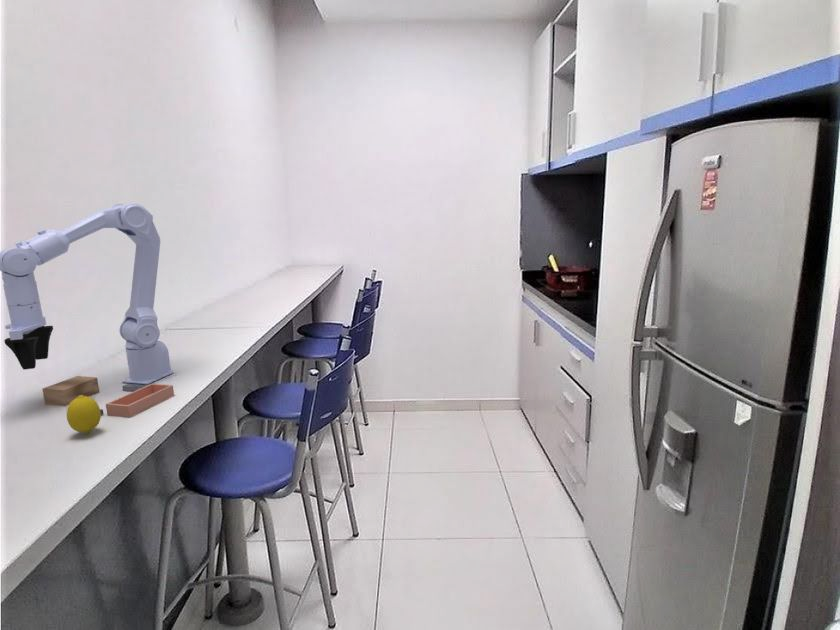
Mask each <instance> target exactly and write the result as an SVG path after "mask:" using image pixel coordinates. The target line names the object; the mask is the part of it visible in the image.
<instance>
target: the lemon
mask: <svg viewBox="0 0 840 630" xmlns="http://www.w3.org/2000/svg"><path fill="white" fill-rule="evenodd" d="M66 409H67V410H66V420H67V422H68V423H67V424H68V425H69V426H70V427H71V429H72V430H74V431H75V432H78V433H83V434H85V435H88V434H90V433H91V432H92V430H94V429H96V428H97V427H98V425H99V423H100V422H101V412H100V409H101V408H100V406H99V404H98V402H97V401H96V400H95V399H94V398H92V397H91V396H89V397H87V396H83V395H80V396H78V398H76V399H74V400H73V401H72V402H71V403H70V404H69V405H68V407H67V408H66Z"/></svg>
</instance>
